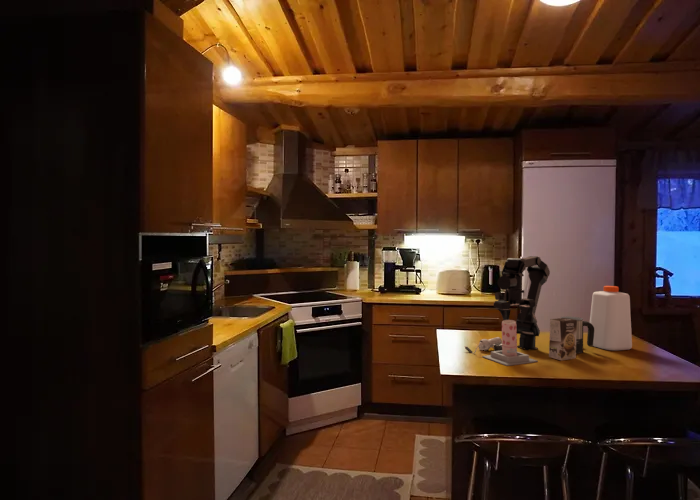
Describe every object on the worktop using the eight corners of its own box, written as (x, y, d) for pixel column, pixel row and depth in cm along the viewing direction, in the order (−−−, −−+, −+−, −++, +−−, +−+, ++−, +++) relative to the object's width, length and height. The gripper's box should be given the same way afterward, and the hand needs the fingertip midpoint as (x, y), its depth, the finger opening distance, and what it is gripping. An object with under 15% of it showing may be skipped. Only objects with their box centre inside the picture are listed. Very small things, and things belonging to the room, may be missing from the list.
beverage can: (507, 360, 185) (506, 324, 183) (499, 356, 191) (498, 320, 189) (520, 358, 186) (519, 322, 185) (511, 354, 192) (511, 318, 190)
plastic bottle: (608, 342, 223) (610, 284, 222) (636, 349, 209) (638, 287, 208) (583, 344, 218) (585, 284, 218) (610, 351, 204) (612, 288, 203)
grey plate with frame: (511, 353, 198) (512, 347, 198) (537, 361, 185) (537, 355, 185) (482, 357, 192) (482, 351, 191) (506, 366, 179) (507, 359, 179)
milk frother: (568, 354, 199) (569, 320, 198) (545, 345, 214) (546, 313, 214) (597, 353, 201) (598, 319, 201) (573, 344, 217) (574, 313, 216)
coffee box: (561, 360, 188) (562, 321, 187) (548, 357, 193) (549, 318, 193) (576, 358, 192) (577, 319, 191) (563, 354, 198) (564, 317, 197)
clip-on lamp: (476, 363, 193) (514, 352, 197) (474, 349, 192) (512, 338, 196) (462, 353, 204) (499, 343, 208) (461, 340, 203) (497, 330, 207)
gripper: (517, 284, 209) (516, 318, 210) (484, 286, 201) (484, 322, 202) (536, 287, 199) (536, 323, 200) (503, 289, 191) (502, 327, 192)
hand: (514, 323), depth 198 cm, fingers open, 9 cm apart
